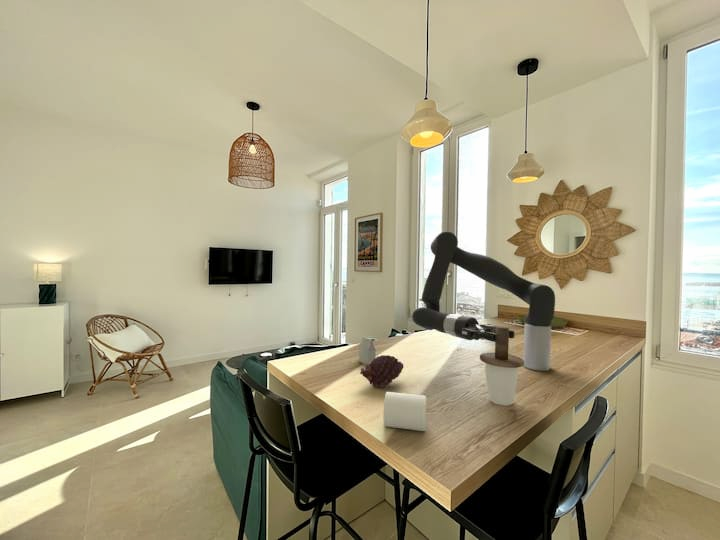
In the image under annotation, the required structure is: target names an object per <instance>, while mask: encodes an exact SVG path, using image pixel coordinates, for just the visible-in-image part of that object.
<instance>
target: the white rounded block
mask: <svg viewBox="0 0 720 540" xmlns="http://www.w3.org/2000/svg"><path fill="white" fill-rule="evenodd" d="M384 394H385V395H384V401H383V402H384V403H383V416H382V417H383V426H384V427H387V428H395V429H402V430H403V429H404V430H410V431H411V430H412V431H419V432H426V430H427V429H426V428H427V426H426V425H427V395H425V394H424V395H421V394H412V393H402V392H393V391H386V392H385V393H384Z"/></svg>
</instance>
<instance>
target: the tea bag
mask: <svg viewBox="0 0 720 540" xmlns="http://www.w3.org/2000/svg"><path fill="white" fill-rule="evenodd" d="M376 354H377V353H376V348H375V345H374V343H373V339H371V338H369V337H366V336H362V339H361V342H360V344H359V346H358V362H359V363H361V364H363V365H364V366H366V364H371V362H372V361H373V359H374V358H376Z"/></svg>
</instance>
